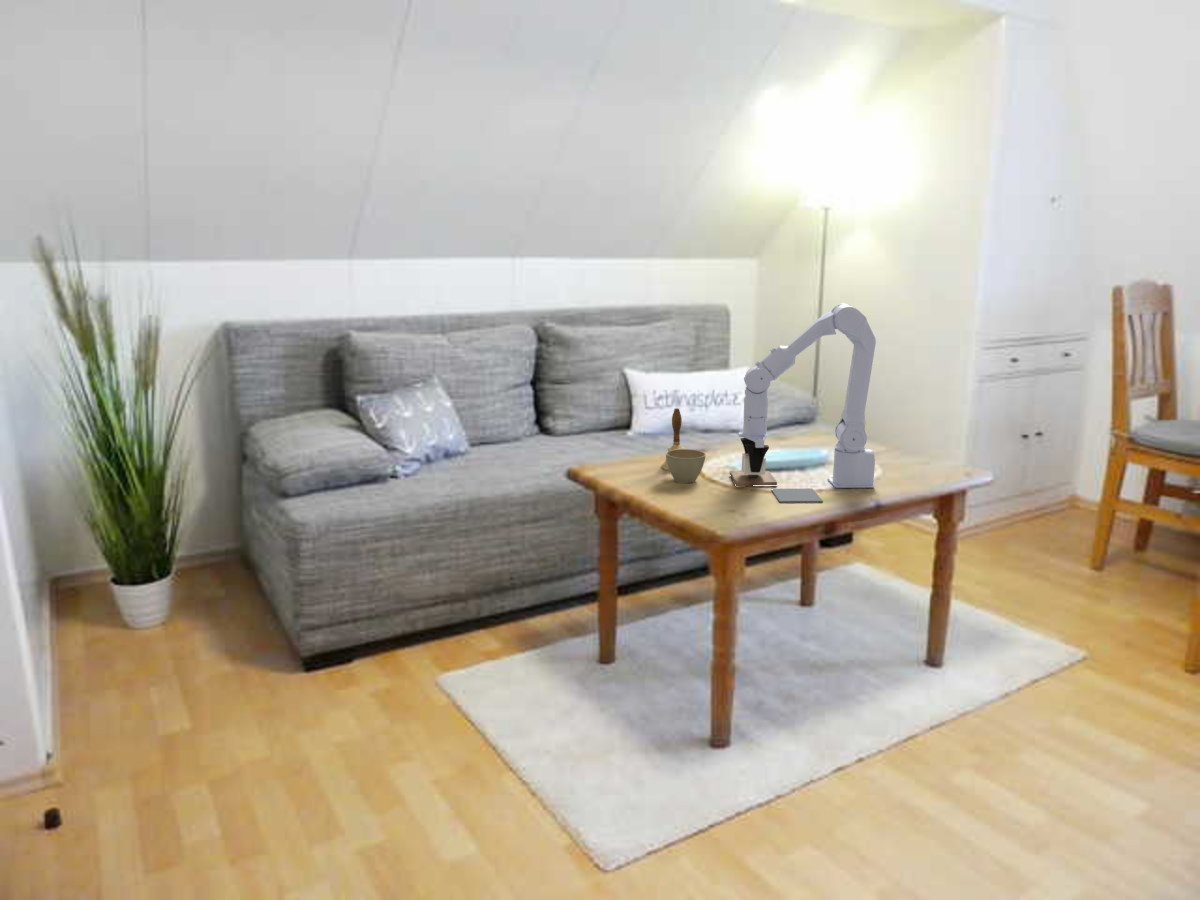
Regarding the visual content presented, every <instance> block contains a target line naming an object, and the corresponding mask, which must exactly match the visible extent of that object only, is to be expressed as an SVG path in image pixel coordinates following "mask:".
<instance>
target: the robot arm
mask: <svg viewBox="0 0 1200 900" xmlns="http://www.w3.org/2000/svg"><path fill="white" fill-rule="evenodd" d="M836 330H837V331H838V332H840V333H842V334H843V335H844V336H846V338H847V339H848V340H849V341H850V343H852V345H853V349H852V355H851V362H850V363H851V364H850V366H849V367H850V369H849V375H848V381H847V389H846V394H845V402H844V407H843V410H842V412H841V416H840V420H839V421H838V423H837V424H836V426H835V430H834V434H835V437H836V439H837V440H838V441H837V443H836V444H835V445H834V454H833V455H834V456H833V469H832V470H833V471H832V477H831V476H829V477H827V480H828V482H830V483H831V484H832V486H834V488H837V489H838V488H840V489H849V488H851V489H852V488H853V489H854V488H857V489H858V488H859V489H861V488H863V489H864V488H867V489H868V488H869V489H870V488H872V489H873V488H875V485H874V481H875V480H874V478H875V469H876V468H875V467H876V457H875V453H874V450H873V449H871V448H870V449H868V448H866V447H865V446H866V443H867V440H868V437H867V432H866V413H865V412H866V406H867V400H868V394H869V388H870V387H869V386H870V381H871V374H872V369H873V362H874V356H875V349H876V344H877V339H876V336H875V335H874V332H873V331H872V328H871V326H870V324H869V322H868V318H867V316H866V315H864V314H863V313H862V312H861V311H860V310H859V309H858V308H856V307H854V306H852V305H850V304H847V303H840V304H837V305H836V306H834V307H833V308H832V310H829V311H827V312H825V313H824V314H823V315H821V316H820V317H819V318H818V319H816V320H815V321H814V322H813V323H812V324H811V325H809V327H807V328H805V330H803V332H802V333H800V334H799V335H798V336H797V337H796V338H795V339H794V340H792V341H791V342H790V343H789V344H788V345H779V346H777V347H775V346H774V347H772V348H771V349H770V353H769V354H768V355H766V357H764V358H763V359H762V360H760V361H756V362H755V363H754V364H755V366H751V367H750V368H749V369H747V370H746V373H745V375H744V377H743V381H744V383H745V386H746V387H745V390H744V395H745V396H744V398H743V399H744V403H743V425H742V426H743V431H742V432H738V434H737V435H738V437H739V438H740V441H741V444H742V446H743V449H744V453H748V455H749V461H750V469H751V472H760V470H761V466H762V463H763V459H764V457H765V456H766V454H767V452H768V450H769V449H770V446H769V445H767V444H765V440H766V439H767V437H768V433H767V429H768V407H769V406H768V405H769V398H768V390H769V388H770V386H771V382H772V381H775V380H777V379H778V378H779V377H781V376H782V375H783V374H784V373H785V372H787V371H788V370H789V369H790V368H791V367H793V366H794V365H795V363H796V358H797V356H798V355H800V353H803V351H805V350H806V349H808V347H810V346H811V345H812V344H814V343H815V342H817V341H818V340H820V338H822V337H824V336H831V335H832V336H833V335H837V331H836Z"/></svg>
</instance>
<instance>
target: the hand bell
mask: <svg viewBox="0 0 1200 900" xmlns="http://www.w3.org/2000/svg"><path fill="white" fill-rule="evenodd" d="M682 423H683V422H682V414H681V411H680V408H674V409H673V413H672V416H671V426H672V430H673V443H672V445H670V446H669V447H668V448H667V451H670V450H676V449H686V448H685V447H684V446H683V445H681V443H680V441H681V440H680V438H681V437H680V431H681V429H682ZM660 468H661V469H663V470H665V471H669V472H670V470H669V467H668V464H667V460H666V459H665V460H664V462H663V463H662V464H661V466H660Z"/></svg>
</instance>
